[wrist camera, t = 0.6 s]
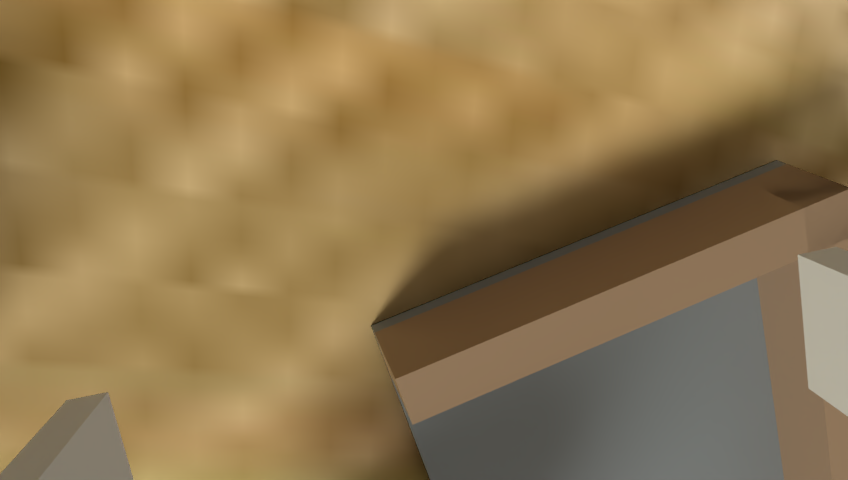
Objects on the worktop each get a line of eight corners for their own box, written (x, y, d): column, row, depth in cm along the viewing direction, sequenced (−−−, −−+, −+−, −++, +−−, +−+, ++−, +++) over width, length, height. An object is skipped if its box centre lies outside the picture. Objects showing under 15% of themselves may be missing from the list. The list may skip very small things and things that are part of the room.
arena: (371, 325, 30) (395, 379, 27) (776, 160, 33) (851, 188, 29) (509, 688, 39) (542, 766, 36) (820, 539, 42) (881, 597, 38)
